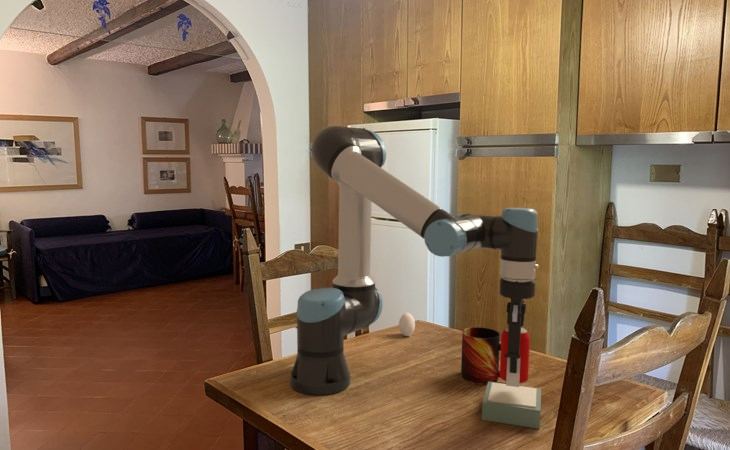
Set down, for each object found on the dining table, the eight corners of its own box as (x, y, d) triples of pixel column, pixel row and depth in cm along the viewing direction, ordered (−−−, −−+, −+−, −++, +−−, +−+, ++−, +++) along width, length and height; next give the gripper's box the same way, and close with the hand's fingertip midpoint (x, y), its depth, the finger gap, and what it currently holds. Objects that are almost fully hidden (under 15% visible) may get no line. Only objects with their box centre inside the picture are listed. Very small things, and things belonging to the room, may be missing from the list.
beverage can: (499, 385, 116) (501, 332, 115) (499, 374, 122) (501, 324, 121) (528, 388, 115) (531, 334, 114) (527, 377, 121) (529, 326, 120)
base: (481, 419, 116) (482, 400, 115) (487, 397, 127) (488, 380, 126) (539, 428, 112) (540, 409, 111) (540, 405, 123) (541, 387, 123)
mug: (518, 385, 134) (520, 339, 133) (463, 383, 135) (465, 338, 134) (510, 371, 144) (511, 328, 143) (458, 369, 145) (460, 326, 143)
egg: (418, 336, 172) (418, 313, 172) (404, 339, 170) (404, 316, 169) (408, 332, 177) (409, 310, 176) (395, 334, 174) (395, 312, 173)
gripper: (534, 288, 106) (529, 399, 108) (536, 271, 124) (532, 367, 126) (496, 286, 108) (492, 394, 111) (503, 269, 126) (500, 363, 129)
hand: (513, 379), depth 119 cm, fingers closed on beverage can, 6 cm apart
